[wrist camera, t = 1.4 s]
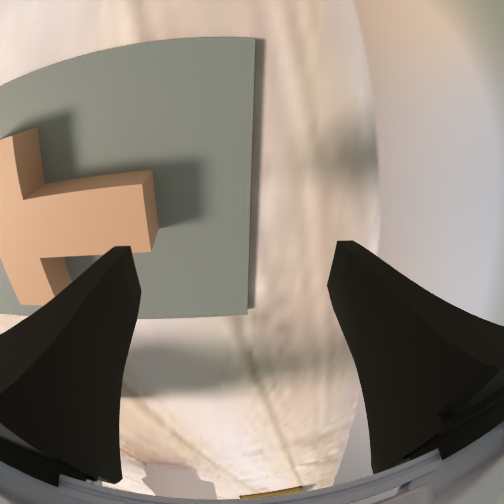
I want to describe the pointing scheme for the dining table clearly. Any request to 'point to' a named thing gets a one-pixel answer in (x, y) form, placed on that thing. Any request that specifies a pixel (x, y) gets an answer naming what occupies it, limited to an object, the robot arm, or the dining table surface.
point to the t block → (65, 218)
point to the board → (155, 159)
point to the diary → (274, 493)
